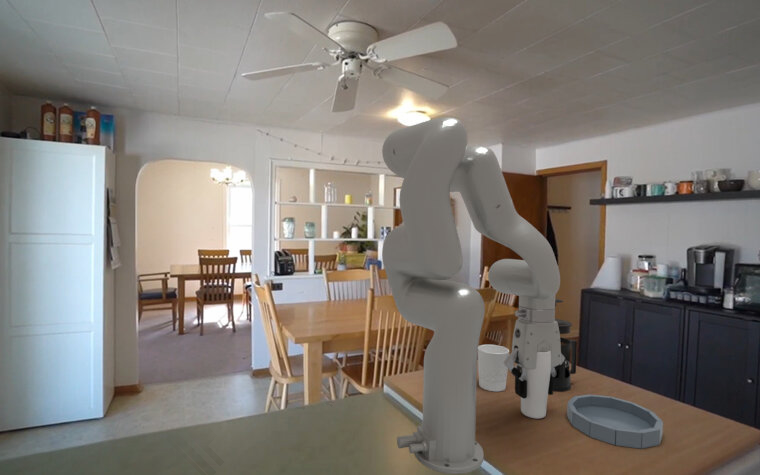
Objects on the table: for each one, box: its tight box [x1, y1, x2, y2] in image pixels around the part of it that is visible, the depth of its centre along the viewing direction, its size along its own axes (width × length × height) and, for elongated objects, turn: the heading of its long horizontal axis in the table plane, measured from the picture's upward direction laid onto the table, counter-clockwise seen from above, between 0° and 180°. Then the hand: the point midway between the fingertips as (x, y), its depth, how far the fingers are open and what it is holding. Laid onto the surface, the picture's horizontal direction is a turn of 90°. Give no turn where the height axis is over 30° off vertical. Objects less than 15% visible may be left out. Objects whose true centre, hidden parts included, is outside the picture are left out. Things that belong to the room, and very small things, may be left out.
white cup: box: [477, 344, 510, 393], centre depth 105 cm, size 8×8×10 cm
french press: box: [553, 298, 578, 392], centre depth 107 cm, size 12×9×23 cm
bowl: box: [566, 394, 664, 449], centre depth 85 cm, size 17×17×3 cm
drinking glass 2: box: [520, 351, 551, 420], centre depth 89 cm, size 7×7×15 cm
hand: (533, 393), depth 89 cm, fingers closed on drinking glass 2, 6 cm apart
